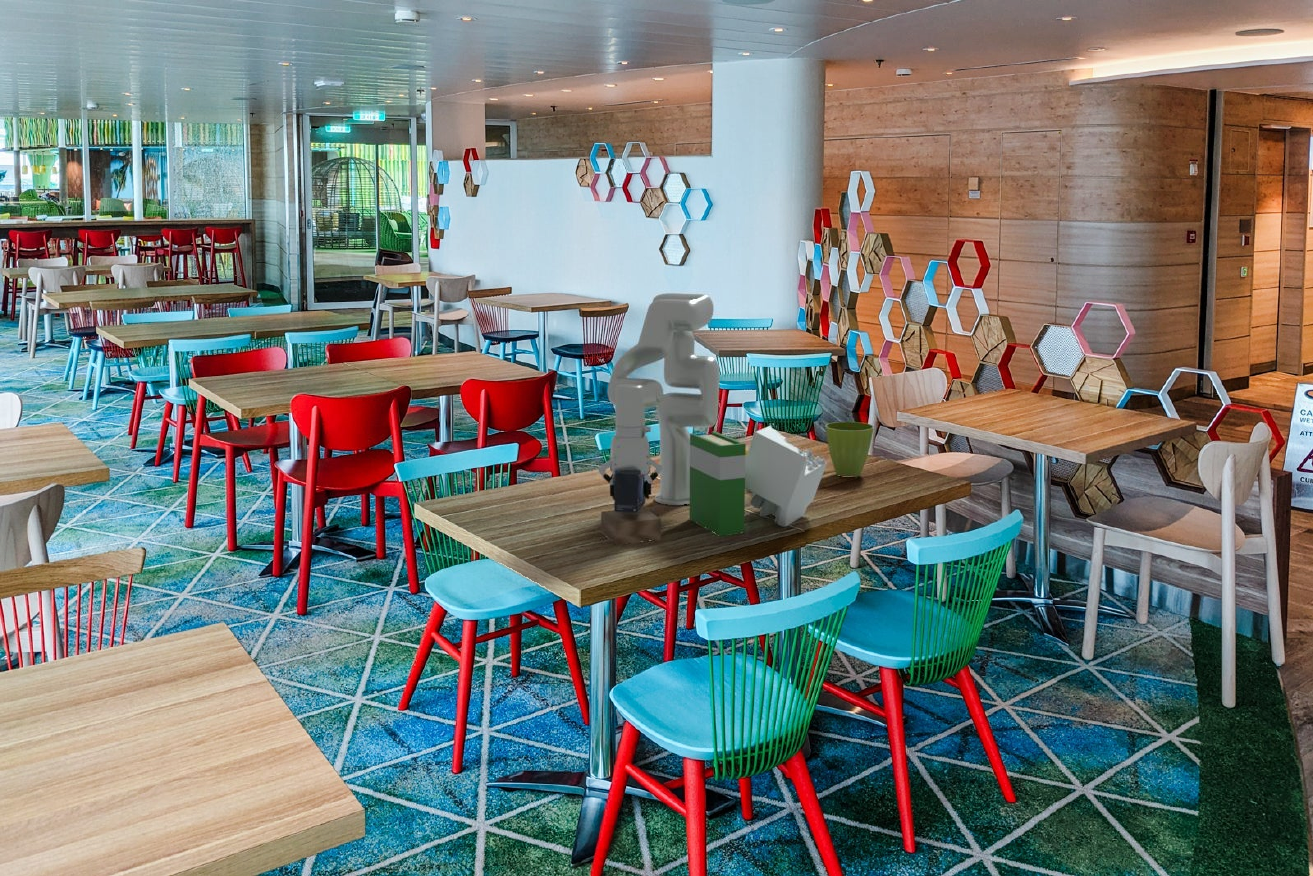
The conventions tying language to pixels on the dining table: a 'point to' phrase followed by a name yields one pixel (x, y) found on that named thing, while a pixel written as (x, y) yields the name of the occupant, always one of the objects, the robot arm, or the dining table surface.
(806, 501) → the white toy brick
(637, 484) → the small box
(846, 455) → the flower pot
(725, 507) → the hardback book
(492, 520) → the dining table surface
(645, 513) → the walnut block
